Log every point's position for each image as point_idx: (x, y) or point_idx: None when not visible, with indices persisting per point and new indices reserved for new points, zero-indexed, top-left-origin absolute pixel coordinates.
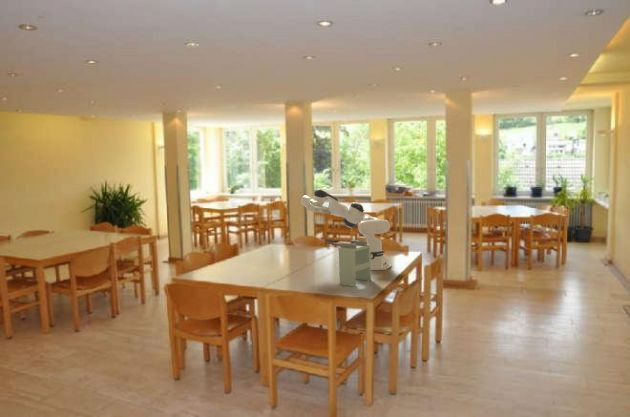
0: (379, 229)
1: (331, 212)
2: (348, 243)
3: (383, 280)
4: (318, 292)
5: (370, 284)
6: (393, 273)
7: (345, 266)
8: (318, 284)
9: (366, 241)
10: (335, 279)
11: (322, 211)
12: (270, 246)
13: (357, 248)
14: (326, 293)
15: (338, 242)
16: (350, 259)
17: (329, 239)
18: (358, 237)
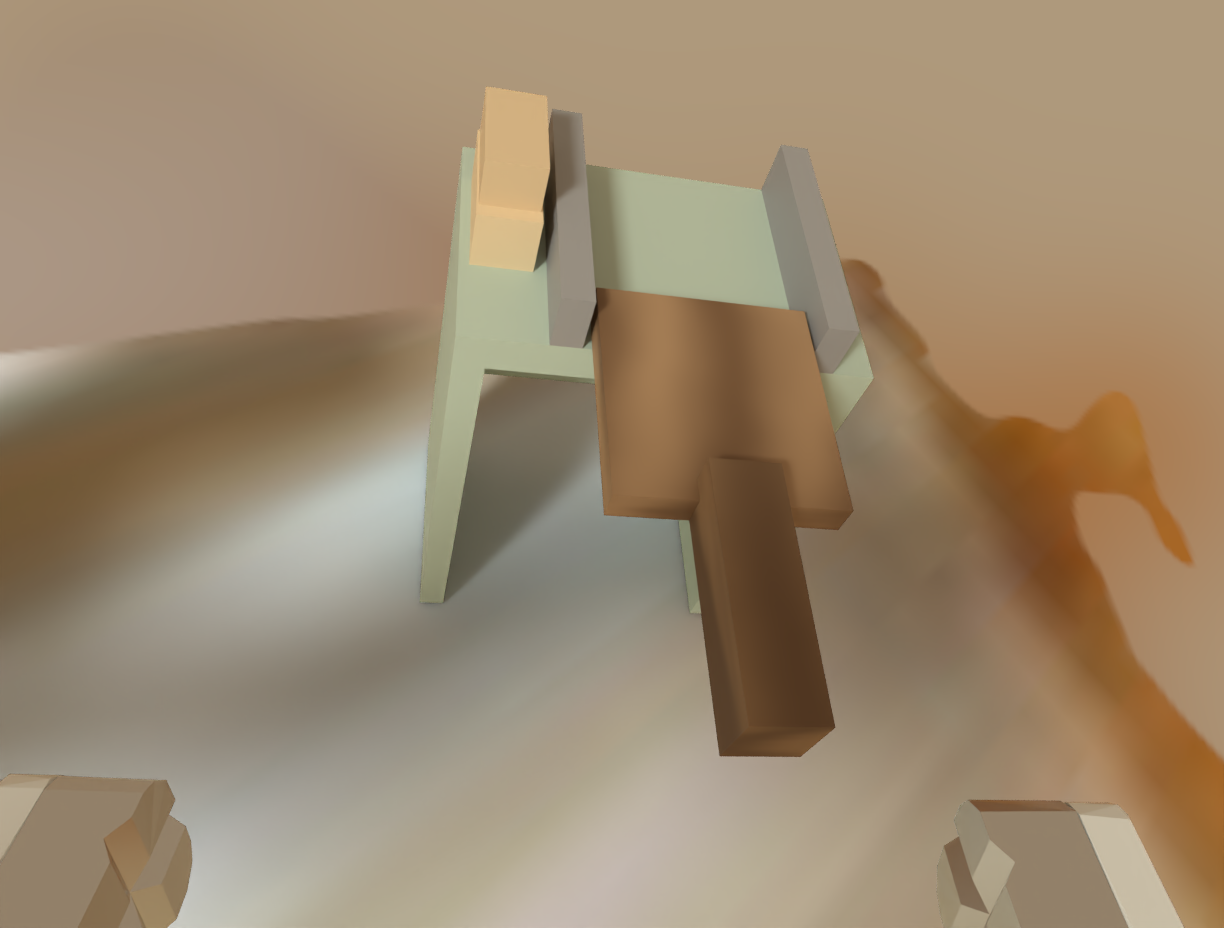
0: None
1: (39, 779)
2: (818, 226)
3: (363, 364)
4: (1013, 612)
5: (549, 394)
6: (16, 396)
7: None
8: (852, 803)
9: (555, 110)
10: (577, 786)
11: (1054, 802)
12: None
13: (740, 192)
14: (980, 542)
15: (745, 448)
16: None
17: (782, 626)
18: (548, 169)
